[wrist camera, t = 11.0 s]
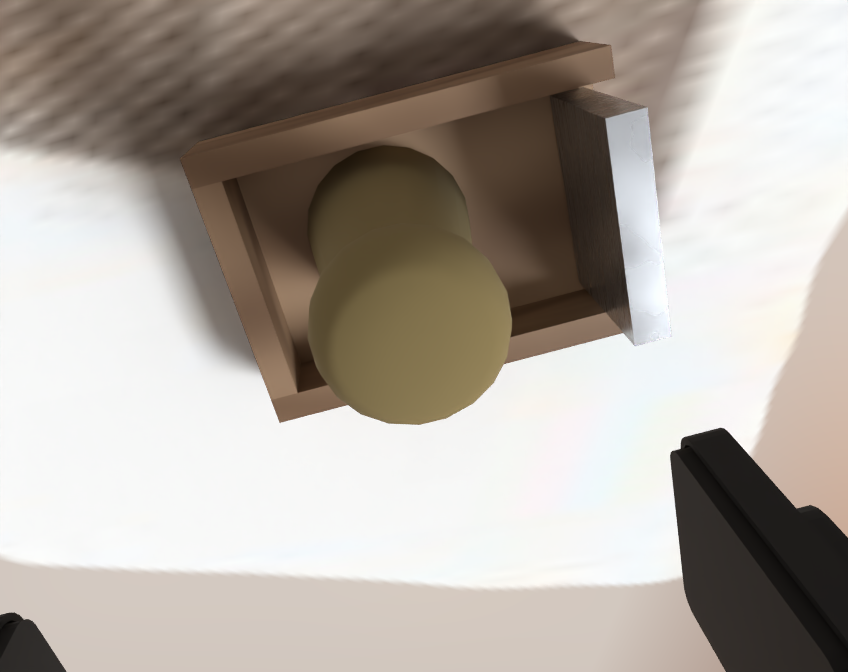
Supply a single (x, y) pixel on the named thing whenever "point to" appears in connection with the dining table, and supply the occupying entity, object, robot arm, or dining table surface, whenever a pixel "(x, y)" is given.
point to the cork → (402, 290)
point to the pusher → (613, 208)
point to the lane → (451, 147)
